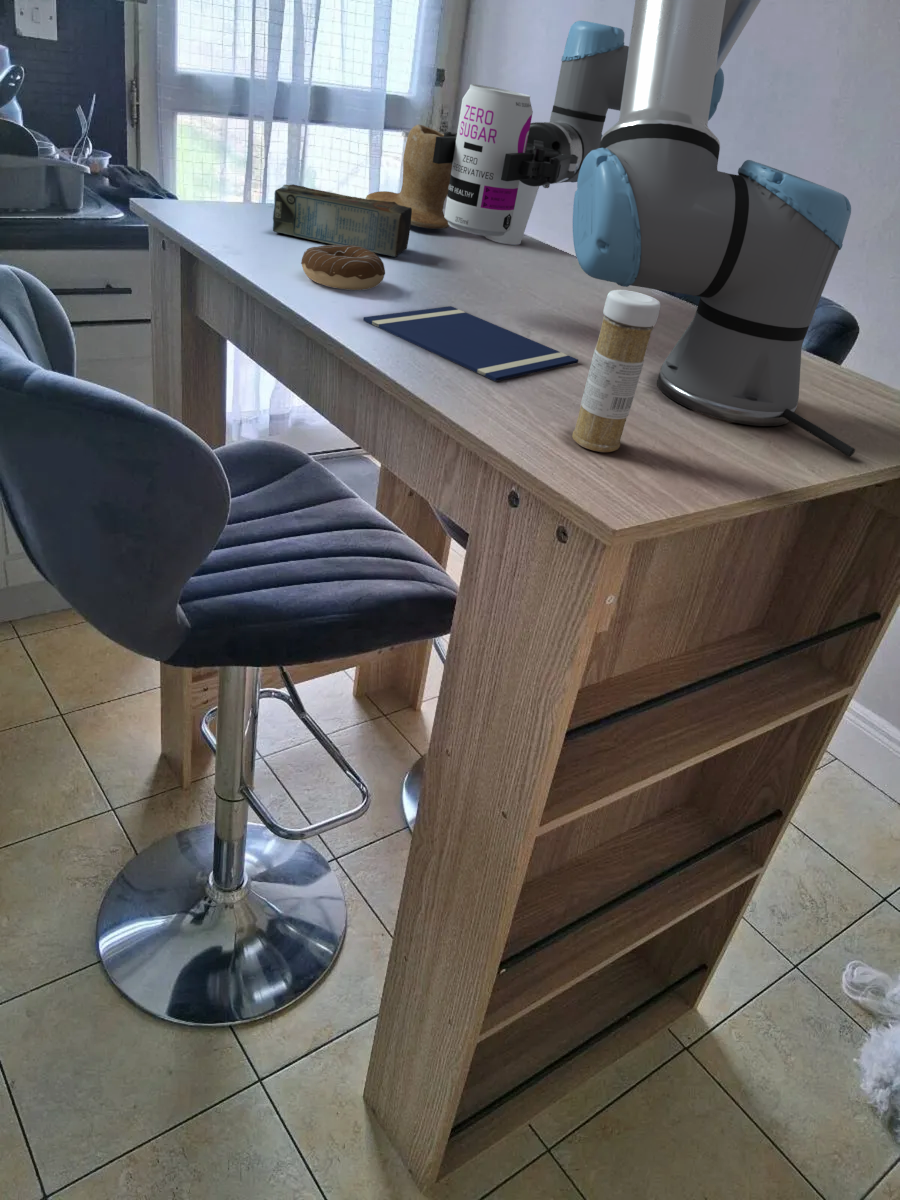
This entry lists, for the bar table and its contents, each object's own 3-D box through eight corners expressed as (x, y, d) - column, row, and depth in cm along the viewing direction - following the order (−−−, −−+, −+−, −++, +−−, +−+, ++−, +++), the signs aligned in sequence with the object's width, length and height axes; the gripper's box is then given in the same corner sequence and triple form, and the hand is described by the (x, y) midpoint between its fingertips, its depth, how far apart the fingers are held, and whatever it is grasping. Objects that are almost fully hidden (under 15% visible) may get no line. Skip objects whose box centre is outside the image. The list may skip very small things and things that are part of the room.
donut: (380, 300, 111) (384, 266, 108) (294, 285, 110) (297, 251, 107) (385, 279, 120) (389, 248, 117) (306, 265, 118) (308, 233, 116)
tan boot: (466, 235, 153) (483, 139, 145) (407, 233, 147) (421, 131, 139) (419, 213, 163) (432, 121, 155) (362, 210, 156) (372, 114, 148)
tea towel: (577, 363, 103) (578, 359, 102) (495, 381, 92) (496, 377, 92) (450, 309, 112) (450, 305, 112) (363, 320, 102) (363, 316, 102)
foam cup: (525, 250, 151) (542, 166, 144) (472, 238, 152) (486, 154, 145) (532, 240, 159) (548, 161, 152) (481, 229, 160) (495, 149, 153)
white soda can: (510, 229, 113) (536, 95, 105) (507, 241, 106) (534, 99, 98) (447, 217, 113) (468, 82, 105) (440, 228, 106) (462, 84, 98)
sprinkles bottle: (607, 434, 85) (648, 291, 78) (627, 455, 81) (671, 306, 74) (563, 432, 84) (600, 285, 76) (581, 453, 80) (621, 301, 73)
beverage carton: (287, 224, 137) (290, 177, 134) (409, 250, 136) (415, 204, 133) (270, 233, 130) (273, 184, 127) (398, 260, 130) (405, 212, 126)
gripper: (610, 202, 118) (547, 216, 101) (470, 167, 125) (387, 173, 107) (626, 140, 114) (563, 142, 97) (480, 106, 121) (396, 102, 103)
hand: (471, 158), depth 102 cm, fingers closed on white soda can, 8 cm apart
